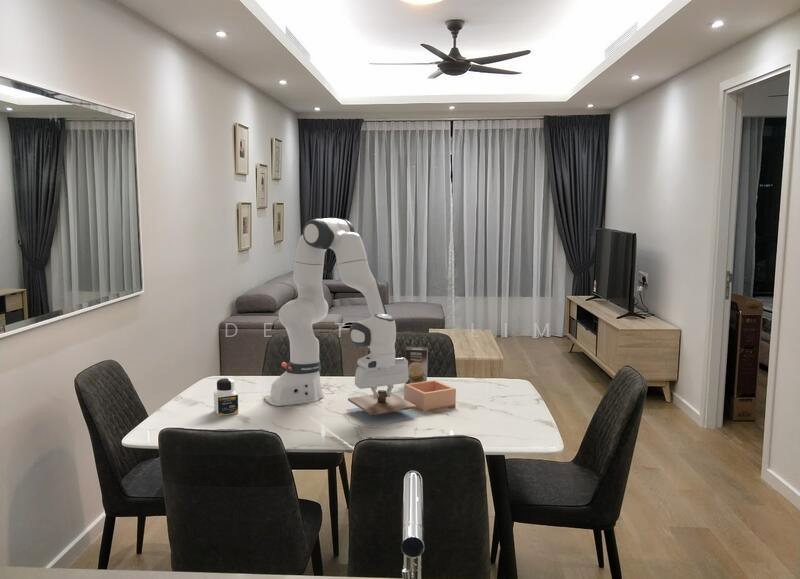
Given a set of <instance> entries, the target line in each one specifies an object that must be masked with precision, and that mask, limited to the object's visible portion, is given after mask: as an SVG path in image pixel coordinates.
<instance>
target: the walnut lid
mask: <svg viewBox="0 0 800 579" xmlns="http://www.w3.org/2000/svg"><path fill="white" fill-rule="evenodd" d="M386 391H387V390H385V389H378V390H377V393H379V398H378V399H375V398H374V397H373V394H370V395H369V394H368V395H362V396H361V395H360V396H355V397H354V396H353V397H348V398H347V401H348V402H350V403H351V404H353V405H354V406H356V407H357V408H361V409H362V410H364V411H365V412H367V413H368V414H370V415H375V414H381V413H388V412H394V411H401V410H407V409H408V410H412V409H417V407H416V405H414V404H412V403H410V402H408V401H407V400H405V399H404V397H403V398H402V397H401V396H399V395H397V394H395V393H394V392H392V391H391V392H390V397H386Z"/></svg>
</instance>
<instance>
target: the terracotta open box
mask: <svg viewBox="0 0 800 579" xmlns="http://www.w3.org/2000/svg"><path fill="white" fill-rule="evenodd" d="M403 387H404V388H403V399H405V400H407V401H408V402H410V403H412V404H414V405H416V409H419V410H421V411H423V412H427V411H433V410H438V409H443V408H448V409H452V408H455V407H456V402H457V399H456V398H457V389H456V388H455V387H453V386H450V385H448V384H445V383H443V382H441V381H439V380H437V379H433V380H427V381H424V382H418V383H411V384H405V383H404V386H403Z"/></svg>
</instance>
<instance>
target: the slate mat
mask: <svg viewBox="0 0 800 579" xmlns="http://www.w3.org/2000/svg"><path fill="white" fill-rule="evenodd" d="M346 411H347V412H349V413H351V414H352V415H353V416H355V417H357V418H358V419H360V420H361V421H363V422H365V423H366V424H368V425H369V426H372V427H373V426H379V425H384V424H390V423H396V422H400V421H406V420H412V419H418V418H421V417H422V416H421V415H420V414H418V413H416V412H414V411H412V410H411V409H407V410H401V411H394V412H388V413H381V414H375V415H370V414H368V413H367V412H365V411H364V410H362V409H361V408H359V407H353V408H348V409H347V408H346ZM422 418H423V417H422Z"/></svg>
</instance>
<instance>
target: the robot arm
mask: <svg viewBox="0 0 800 579" xmlns="http://www.w3.org/2000/svg"><path fill="white" fill-rule="evenodd" d="M328 249H330V250H332V251H333V252H334V255H335V258H336V266H337V271H338V276H339V278H340V280H341V282H342V283H343V284H345V285H346V286H347V287H349V288H352V289H355V290H356V291H359V292H360V293H362V296H364V298H365V300H366V304H367V308H368V311H369V314H370V317H369V318H366V319H361V320H358V321H355V322H353V323H352V324H351V325H350V327H349V330H348V337H349V341H350V342H351V344H352V345H353V346H354V347H356V348H370V353H368V354H367V355H364V356H362V357H360V358H358V359H357V365H358V366H357V368H356V370H355V376H354V385H355V387H357V388H358V389H360V390H365V389H371V391H372V395H373V397H374V398H375V399H378V398H379V393H378V390H377V389H378V388H379V387H386V386H387V389H386V390H385V391H386V397H390V392H392V391H393V388H394V385H400V384H401V385H402V384H405V383H407V381H408V379H409V376H408V360H407V359H406V357H403V356H402V357H397V358H396V348H395V346H396V341H397V326H396V322H395V321H396V320H395V318H394V317H393V316H392V315H390V314H388V313H387V309H386V306H385V302H384V300H383V299H384V298H383V296H382V295H383V294H382V293H381V289H380V286H379V284H378V280H377V279H376V277H375V276H374V275H373V273H372V271H371V269H370V266H369V261H368V257H367V251H366V248H365V245H364V242H363V239H362V237H361V235H360V234H359V233H358V232H356V230H355V227H354V225H353V223H351V222H350V221H349V220H347V219H345V218H336V217H327V218H314V219H313V218H312V219H311V220H309V221H307V222H306V223H305V225H304V226H303V229H302V234H301V235H300V237H299V239H298V242H297V246H296V249H295V255H294V264H293V273H292V274H293V275H292V281H293V282H292V283H293V284H294V285H295V286H296V291H297V294H298V295H297V298H295V299H291V300H289V301H287V302H286V303H285V304H282V306H281V307H280V309H279V311H278V320H279V322H280V324H281V325H282V326H283V327H284V328H285V330H286V333H287V336H288V341H289V353H290V356H289V357H290V360H289V361H288V362H285V361H282V362H281V367H282V368H284V369H285V371H284V372H283V373H282V374H280V376H279V377H278V378H276V379H275V380H273V382H272V383H271V387H270V392H269V393H268V394H265V395H264V400H265V401H266V402H267V403H268V404H270V405H272V406H278V407H279V406H280V407H282V406H292V405H303V404H311V403H317V402H318V401H319V400H321V399H322V398H324V392H323V389H322V384H321V383H322V382H321V376H320V375H321V369H322V368H321V360H320V341H319V339H318V338H317V337H316V336H315V333H314V329H313V325H314V324H317V323H319V322H321V321H323V319H325V318H326V316H327V315H328V314H329V308H330V307H329V304H328V302H327V300H326V298H325V295H324V289H323V277H324V276H323V275H324V265H325V255H326V251H327V250H328Z"/></svg>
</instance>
